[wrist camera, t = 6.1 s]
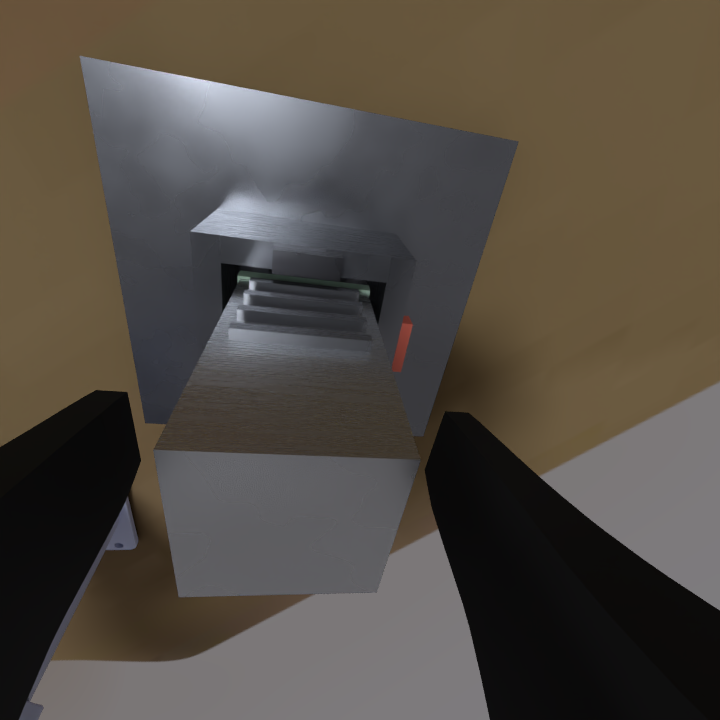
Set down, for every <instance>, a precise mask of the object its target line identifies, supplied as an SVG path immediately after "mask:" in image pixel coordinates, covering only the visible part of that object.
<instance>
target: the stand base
mask: <svg viewBox="0 0 720 720" xmlns="http://www.w3.org/2000/svg"><path fill="white" fill-rule="evenodd" d="M80 60H81V65H82V71H83V77H84V82H85V88H86V93H87V99H88V105H89V110H90V116H91V121H92V127H93V133H94V138H95V144H96V149H97V155H98V161H99V166H100V172H101V177H102V183H103V189H104V194H105V200H106V205H107V211H108V217H109V222H110V228H111V233H112V239H113V245H114V250H115V256H116V261H117V267H118V273H119V278H120V284H121V289H122V295H123V301H124V306H125V312H126V317H127V323H128V329H129V334H130V340H131V345H132V351H133V357H134V362H135V368H136V373H137V379H138V385H139V390H140V396H141V401H142V407H143V413H144V418H145V423H154V424H167V422H168V420H169V418H170V416H171V414H172V412H173V410H174V408H175V406H176V404H177V402H178V400H179V398H180V396H181V394H182V392H183V390H184V388H185V386H186V384H187V382H188V380H189V378H190V377H191V375H192V373H193V371H194V369H195V367H196V365H197V363H198V361H199V359H200V357H201V355H202V353H203V351H204V349H205V347H206V345H207V343H208V341H209V339H210V337H211V335H212V333H213V331H214V329H215V327H216V325H217V323H218V321H219V319H220V317H221V315H222V313H223V311H224V309H225V307H226V305H227V303H228V302H229V300H230V298H231V296H232V294H233V292H234V290H235V288H236V286H237V284H238V280H237V276H238V274H239V272H240V270H241V271H251V272H260V273H268V274H277V275H286V276H294V277H303V278H311V279H320V280H329V281H337V282H346V283H354V284H363V285H369V288H370V295H369V299H370V302H371V305H372V308H373V312H374V315H375V318H376V321H377V324H378V327H379V330H380V333H381V337H382V340H383V343H384V346H385V349H386V352H387V355H388V359H389V362H390V365H391V368H392V371H393V374H394V377H395V381H396V384H397V387H398V390H399V393H400V396H401V399H402V402H403V406H404V409H405V412H406V415H407V418H408V421H409V424H410V428H411V431H412V434H413V436H423V435H424V432H425V429H426V426H427V423H428V420H429V417H430V414H431V411H432V408H433V404H434V401H435V398H436V395H437V392H438V389H439V386H440V383H441V380H442V377H443V374H444V370H445V367H446V364H447V361H448V358H449V355H450V352H451V349H452V346H453V343H454V340H455V336H456V333H457V330H458V327H459V324H460V321H461V318H462V315H463V312H464V309H465V306H466V302H467V299H468V296H469V293H470V290H471V287H472V284H473V281H474V278H475V275H476V272H477V268H478V265H479V262H480V259H481V256H482V253H483V250H484V247H485V244H486V241H487V238H488V234H489V231H490V228H491V225H492V222H493V219H494V216H495V213H496V210H497V207H498V204H499V201H500V197H501V194H502V191H503V188H504V185H505V182H506V179H507V176H508V173H509V170H510V167H511V163H512V160H513V157H514V154H515V151H516V148H517V145H518V141H513V140H508V139H502V138H497V137H492V136H487V135H482V134H477V133H472V132H467V131H462V130H456V129H451V128H446V127H441V126H436V125H431V124H426V123H421V122H415V121H410V120H405V119H400V118H395V117H390V116H385V115H380V114H375V113H369V112H364V111H359V110H354V109H349V108H344V107H339V106H334V105H328V104H323V103H318V102H313V101H308V100H303V99H298V98H293V97H288V96H282V95H277V94H272V93H267V92H262V91H257V90H252V89H247V88H241V87H236V86H231V85H226V84H221V83H216V82H211V81H206V80H201V79H195V78H190V77H185V76H180V75H175V74H170V73H165V72H160V71H155V70H149V69H144V68H139V67H134V66H129V65H124V64H119V63H114V62H108V61H103V60H98V59H93V58H88V57H83V56H80Z"/></svg>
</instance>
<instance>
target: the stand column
mask: <svg viewBox="0 0 720 720" xmlns="http://www.w3.org/2000/svg"><path fill="white" fill-rule="evenodd" d="M237 280H238V284H237V286H236V288H235V290H234V292H233V294H232V296H231V298H230V300H229V302H228V303H227V305H226V307H225V309H224V311H223V313H222V315H221V317H220V319H219V321H218V323H217V325H216V327H215V329H214V331H213V333H212V335H211V337H210V339H209V341H208V343H207V345H206V347H205V349H204V351H203V353H202V355H201V357H200V359H199V361H198V363H197V365H196V367H195V369H194V371H193V373H192V375H191V377H190V378H189V380H188V382H187V384H186V386H185V388H184V390H183V392H182V394H181V396H180V398H179V400H178V402H177V404H176V406H175V408H174V410H173V412H172V414H171V416H170V418H169V420H168V422H167V424H166V426H165V428H164V430H163V432H162V434H161V436H160V438H159V440H158V442H157V444H156V446H155V448H154V450H153V451H154V457H155V462H156V468H157V474H158V480H159V486H160V491H161V497H162V503H163V509H164V515H165V520H166V526H167V532H168V538H169V544H170V549H171V555H172V561H173V567H174V573H175V578H176V584H177V590H178V596H179V597H209V596H250V595H290V594H331V593H371V592H377V589H378V586H379V584H380V581H381V578H382V575H383V571H384V568H385V566H386V562H387V560H388V557H389V554H390V551H391V548H392V545H393V542H394V539H395V536H396V533H397V530H398V527H399V524H400V521H401V518H402V515H403V512H404V509H405V506H406V503H407V500H408V497H409V494H410V491H411V488H412V485H413V482H414V479H415V476H416V473H417V470H418V467H419V464H420V461H421V459H420V456H419V453H418V449H417V446H416V443H415V440H414V437H413V434H412V431H411V428H410V424H409V421H408V418H407V415H406V412H405V409H404V406H403V402H402V399H401V396H400V393H399V390H398V387H397V384H396V381H395V377H394V374H393V371H392V368H391V365H390V362H389V359H388V355H387V352H386V349H385V346H384V343H383V340H382V337H381V333H380V330H379V327H378V324H377V321H376V318H375V315H374V312H373V308H372V305H371V302H370V299H369V295H370V288H369V285H363V284H354V283H346V282H337V281H329V280H320V279H311V278H303V277H294V276H286V275H277V274H268V273H260V272H251V271H241V270H240V272H239V274H238V276H237Z"/></svg>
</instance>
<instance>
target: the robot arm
mask: <svg viewBox="0 0 720 720" xmlns="http://www.w3.org/2000/svg"><path fill="white" fill-rule="evenodd" d="M140 462H141V458H140V453H139V448H138V443H137V438H136V433H135V428H134V423H133V418H132V413H131V408H130V403H129V398H128V393H127V392H117V391H101V390H96V391H94V392H92V393H90V394H88V395H87V396H85V397H83V398H81V399H80V400H78V401H76V402H74V403H73V404H71V405H69V406H68V407H66V408H64V409H63V410H61V411H59V412H58V413H56V414H55V415H53V416H51V417H50V418H48V419H46V420H45V421H43V422H41V423H40V424H38V425H37V426H35V427H33V428H32V429H30V430H28V431H27V432H25V433H23V434H22V435H20V436H18V437H17V438H15V439H13V440H12V441H10V442H8V443H7V444H5V445H3V446H1V447H0V720H38V719H39V716H40V714H41V712H42V710H43V706H42V705H39V704H35V703H32V702H30V700H31V698H32V696H33V694H34V692H35V690H36V688H37V686H38V684H39V682H40V680H41V678H42V676H43V674H44V672H45V670H46V668H47V666H48V664H49V662H50V660H51V658H52V656H53V654H54V652H55V650H56V648H57V646H58V644H59V642H60V640H61V638H62V636H63V634H64V632H65V630H66V628H67V626H68V624H69V622H70V620H71V618H72V616H73V614H74V612H75V610H76V608H77V606H78V604H79V602H80V600H81V598H82V596H83V594H84V592H85V590H86V588H87V586H88V584H89V582H90V580H91V578H92V576H93V574H94V572H95V570H96V568H97V566H98V564H99V562H100V560H101V558H102V556H103V554H104V552H105V550H132V549H134V548H135V547H136V546H137V544H138V536H137V532H136V528H135V524H134V520H133V516H132V512H131V507H130V503H129V499H128V494H129V491H130V489H131V486H132V484H133V481H134V478H135V476H136V473H137V470H138V467H139V465H140ZM425 474H426V480H427V485H428V491H429V496H430V501H431V506H432V510H433V513H434V516H435V520H436V523H437V526H438V529H439V532H440V535H441V539H442V541H443V545H444V548H445V551H446V554H447V557H448V560H449V563H450V566H451V569H452V572H453V575H454V578H455V581H456V584H457V587H458V591H459V594H460V597H461V600H462V603H463V606H464V609H465V613H466V617H467V620H468V624H469V627H470V631H471V636H472V640H473V644H474V649H475V653H476V657H477V662H478V666H479V670H480V675H481V679H482V683H483V688H484V693H485V698H486V703H487V708H488V712H489V717H490V720H720V610H718V609H716V608H715V607H713V606H712V605H710V604H709V603H707V602H706V601H704V600H703V599H701V598H700V597H698V596H697V595H695V594H693V593H692V592H691V591H689V590H688V589H686V588H685V587H683V586H681V585H680V584H678V583H677V582H675V581H674V580H672V579H671V578H669V577H668V576H666V575H665V574H664V573H662V572H661V571H659V570H658V569H656V568H655V567H653V566H652V565H650V564H649V563H648V562H646V561H645V560H643V559H642V558H641V557H639V556H638V555H636V554H635V553H634V552H633V551H631V550H630V549H628V548H627V547H626V546H624V545H623V544H622V543H620V542H619V541H618V540H616V539H615V538H614V537H612V536H611V535H609V534H608V533H607V532H605V531H604V530H603V529H602V528H600V527H599V526H597V525H596V524H595V523H594V522H593V521H591V520H590V519H589V518H587V517H586V516H585V515H584V514H582V513H581V512H580V511H579V510H578V509H577V508H575V507H574V506H573V505H572V504H571V503H569V502H568V501H567V500H566V499H564V498H563V497H562V496H561V495H560V494H558V493H557V492H556V491H555V490H554V489H552V487H550V486H549V485H548V484H547V483H546V482H545V481H543V480H542V479H541V478H540V477H539V476H538V475H537V474H536V473H534V472H533V471H532V470H531V469H530V468H529V467H528V466H527V465H526V464H524V463H523V462H522V461H521V460H520V459H519V458H518V457H517V456H516V455H515V454H514V453H512V452H511V451H510V450H509V449H508V448H507V447H506V446H505V445H504V444H503V443H502V442H501V441H499V440H498V439H497V438H496V437H495V436H494V435H493V434H492V433H491V432H490V431H489V430H488V429H486V428H485V427H484V426H483V425H482V424H481V423H480V422H479V421H477V420H476V419H475V418H474V417H473V416H472V415H470V414H469V413H464V412H447V411H445V413H444V416H443V419H442V422H441V424H440V427H439V430H438V433H437V436H436V439H435V442H434V445H433V447H432V450H431V453H430V456H429V459H428V462H427V465H426V468H425Z"/></svg>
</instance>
